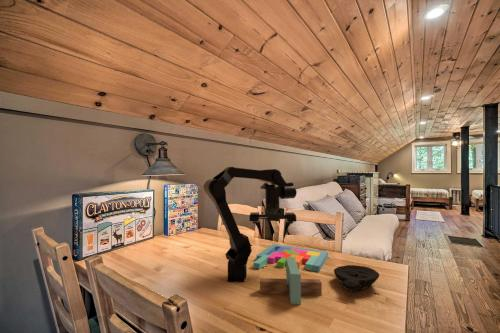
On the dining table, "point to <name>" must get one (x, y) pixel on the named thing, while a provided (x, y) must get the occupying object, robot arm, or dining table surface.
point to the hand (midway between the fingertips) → (272, 238)
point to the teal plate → (293, 280)
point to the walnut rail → (282, 288)
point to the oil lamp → (356, 276)
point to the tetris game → (301, 255)
